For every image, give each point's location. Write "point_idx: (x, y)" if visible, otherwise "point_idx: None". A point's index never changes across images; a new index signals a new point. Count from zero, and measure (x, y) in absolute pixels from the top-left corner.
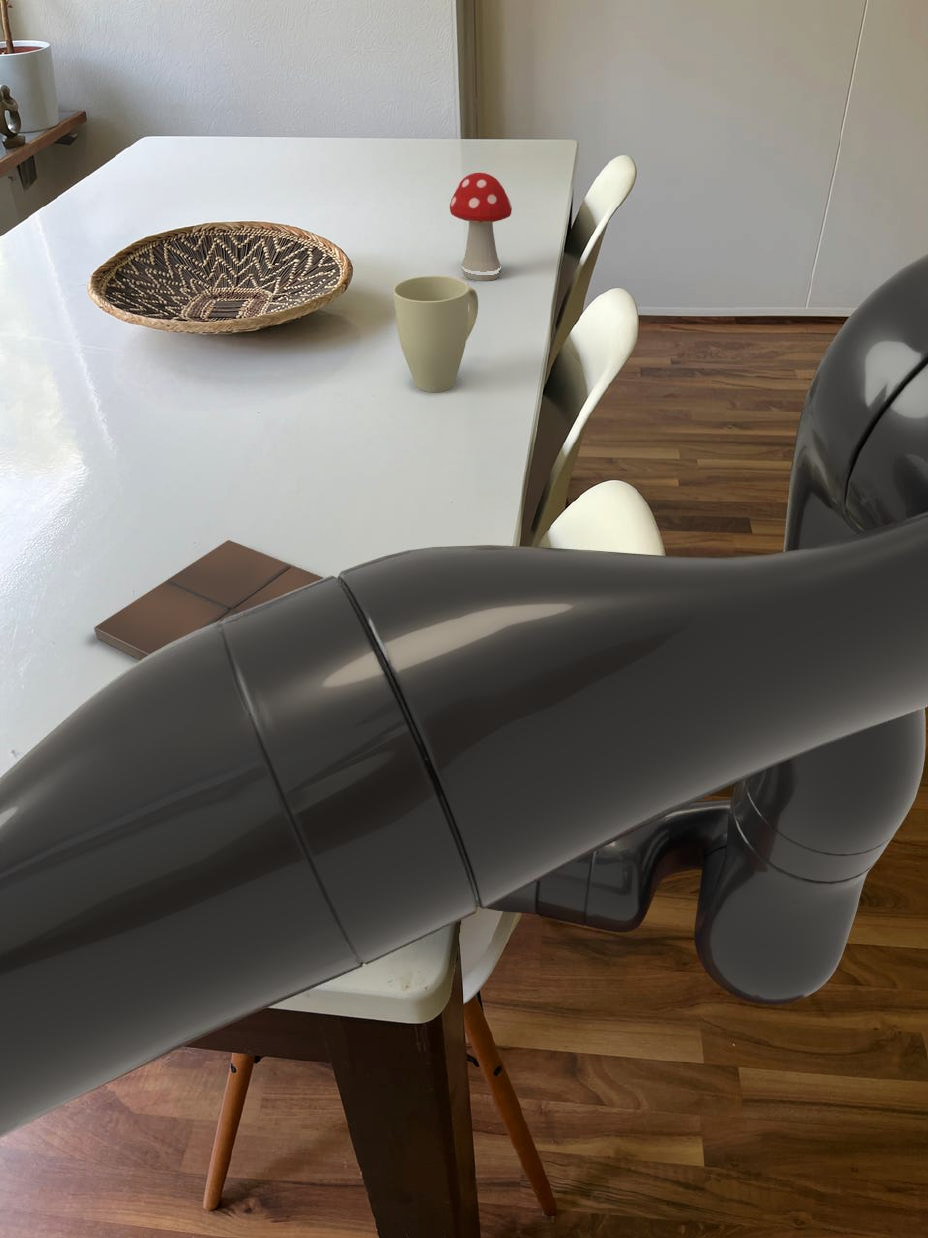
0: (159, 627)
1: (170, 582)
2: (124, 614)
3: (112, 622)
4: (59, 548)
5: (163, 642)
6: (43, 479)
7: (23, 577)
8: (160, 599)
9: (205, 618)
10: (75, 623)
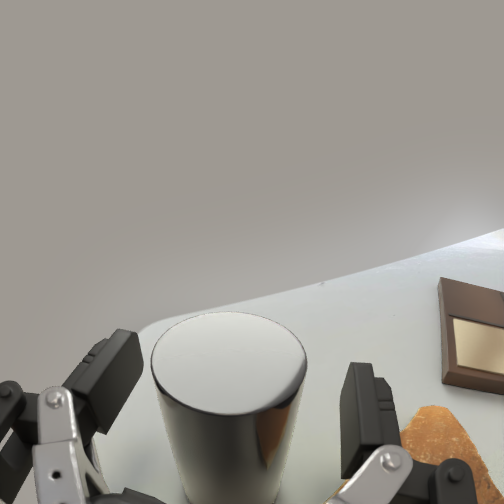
0: (469, 302)
1: (502, 293)
2: (462, 284)
3: (451, 282)
4: (474, 255)
5: (460, 309)
6: (498, 240)
7: (447, 251)
8: (487, 294)
9: (497, 321)
10: (439, 275)
